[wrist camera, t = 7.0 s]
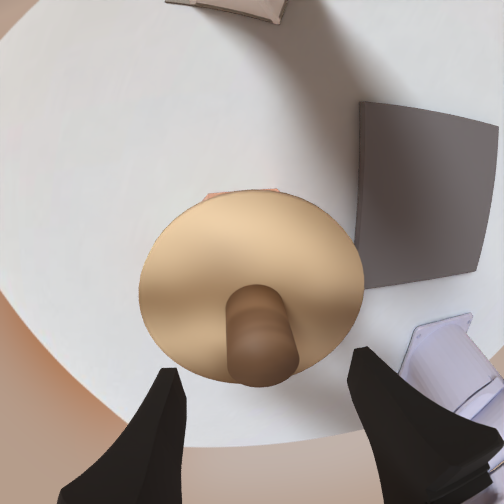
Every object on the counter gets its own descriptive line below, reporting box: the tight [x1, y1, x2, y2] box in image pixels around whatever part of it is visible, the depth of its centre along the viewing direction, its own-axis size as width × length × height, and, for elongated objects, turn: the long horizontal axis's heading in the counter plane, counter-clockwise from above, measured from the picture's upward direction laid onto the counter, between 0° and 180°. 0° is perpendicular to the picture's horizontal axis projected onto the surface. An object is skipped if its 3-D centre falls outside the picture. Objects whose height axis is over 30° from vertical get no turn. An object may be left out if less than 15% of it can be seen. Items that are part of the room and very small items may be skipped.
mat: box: [354, 102, 499, 289], centre depth 19 cm, size 13×13×1 cm
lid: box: [139, 190, 364, 387], centre depth 14 cm, size 12×12×5 cm
